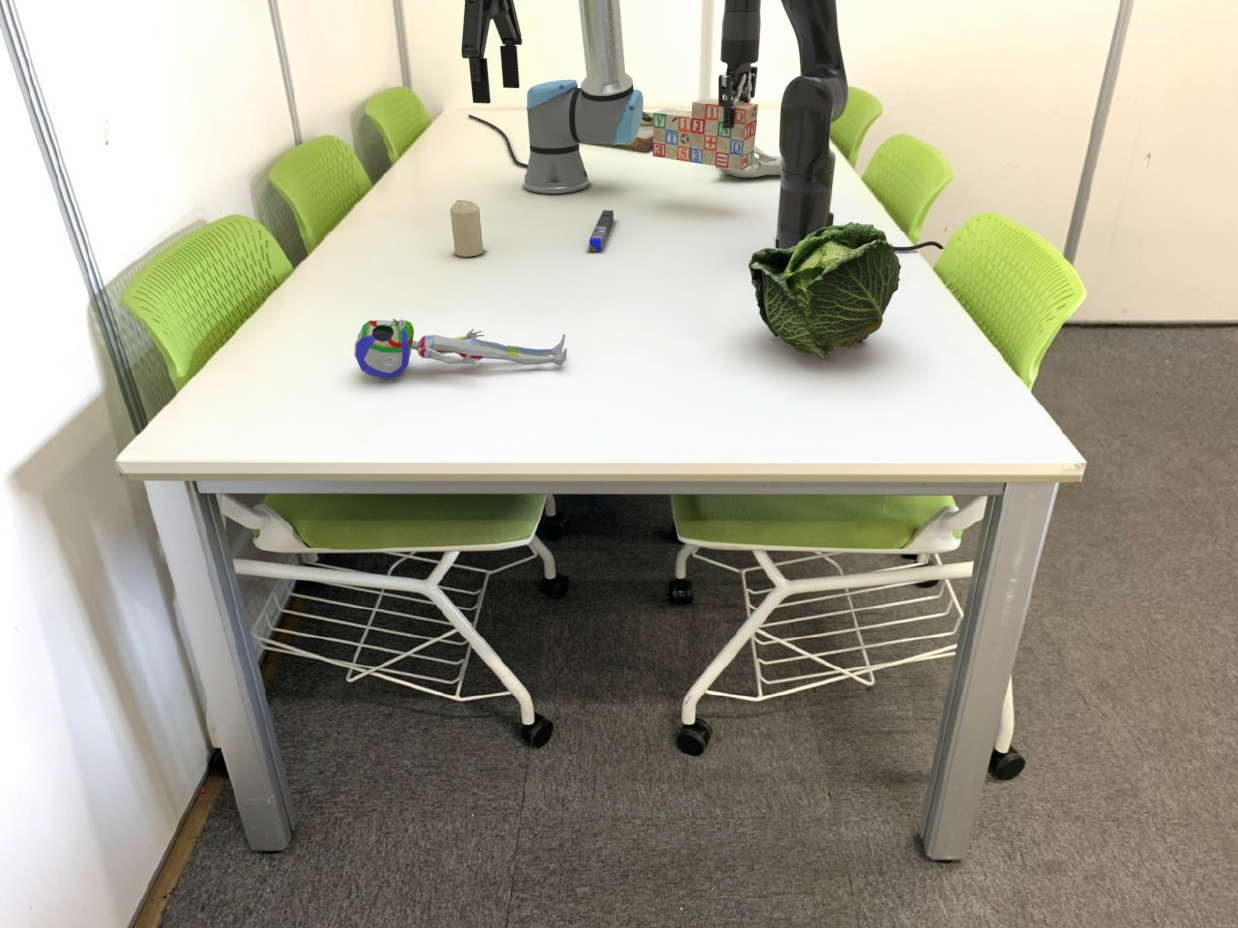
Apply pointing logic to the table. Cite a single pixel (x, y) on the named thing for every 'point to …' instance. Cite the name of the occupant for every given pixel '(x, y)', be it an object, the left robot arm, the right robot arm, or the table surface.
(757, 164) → the anatomical model
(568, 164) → the left robot arm
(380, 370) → the toy
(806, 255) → the vegetable
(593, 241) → the blue-tipped grey rod
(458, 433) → the table surface
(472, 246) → the candle
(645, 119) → the plaque
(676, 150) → the stack of blocks
